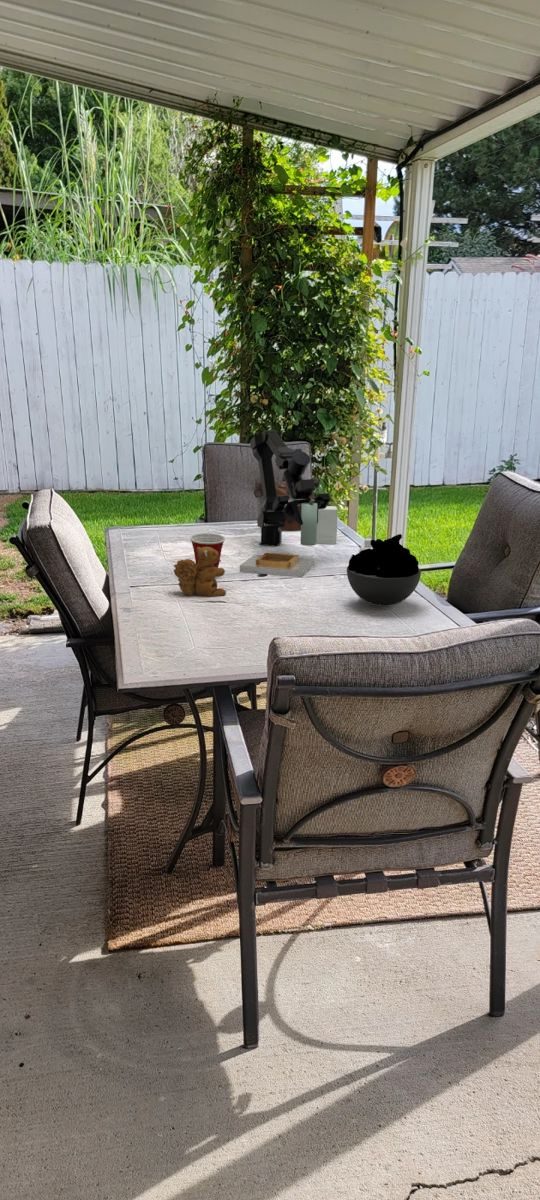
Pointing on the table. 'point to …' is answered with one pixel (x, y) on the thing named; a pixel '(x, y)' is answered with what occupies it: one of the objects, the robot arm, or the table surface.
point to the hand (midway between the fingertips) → (309, 523)
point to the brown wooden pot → (289, 521)
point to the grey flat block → (277, 564)
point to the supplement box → (327, 525)
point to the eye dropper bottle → (366, 544)
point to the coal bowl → (384, 572)
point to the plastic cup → (207, 543)
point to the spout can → (309, 523)
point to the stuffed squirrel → (200, 574)
